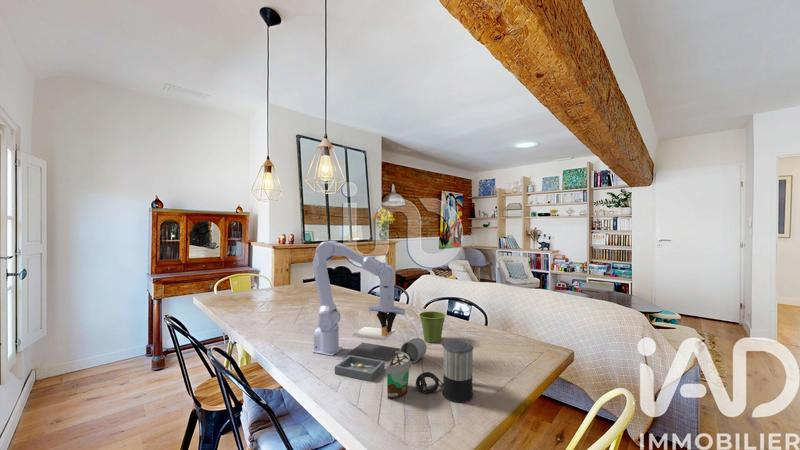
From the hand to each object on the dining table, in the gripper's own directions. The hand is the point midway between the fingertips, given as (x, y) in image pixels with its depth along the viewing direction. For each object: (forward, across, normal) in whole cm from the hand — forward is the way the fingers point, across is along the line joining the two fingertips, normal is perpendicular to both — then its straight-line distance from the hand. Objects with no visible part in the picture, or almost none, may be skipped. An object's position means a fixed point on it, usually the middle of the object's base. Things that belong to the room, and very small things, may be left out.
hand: (386, 331), depth 125 cm
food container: (+9, +16, -24) cm, 30 cm away
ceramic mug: (+9, +10, -1) cm, 14 cm away
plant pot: (+9, +12, +21) cm, 26 cm away
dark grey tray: (+9, -2, -17) cm, 19 cm away
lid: (+2, -5, 0) cm, 6 cm away
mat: (+9, -6, 0) cm, 10 cm away
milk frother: (+9, +28, -19) cm, 35 cm away
